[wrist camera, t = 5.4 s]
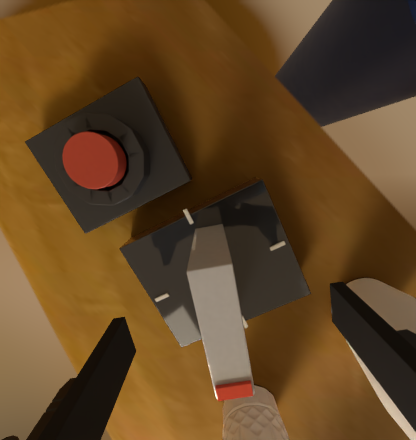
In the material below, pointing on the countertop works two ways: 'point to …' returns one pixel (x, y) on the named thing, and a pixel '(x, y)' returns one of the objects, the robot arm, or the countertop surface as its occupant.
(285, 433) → the white cup
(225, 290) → the upright gray tile
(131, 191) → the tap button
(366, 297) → the cup
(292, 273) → the dark gray dial base
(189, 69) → the countertop surface
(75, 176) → the button
